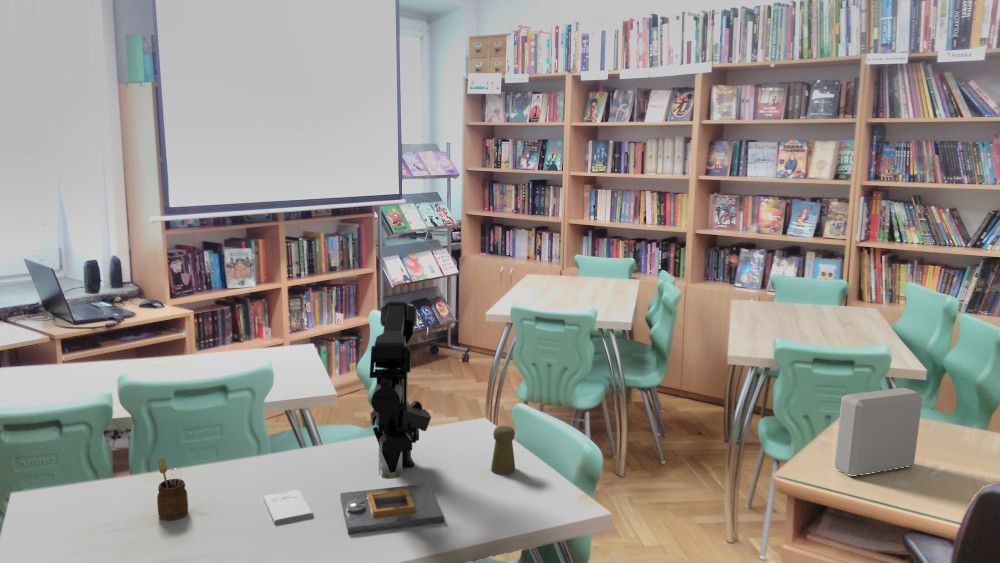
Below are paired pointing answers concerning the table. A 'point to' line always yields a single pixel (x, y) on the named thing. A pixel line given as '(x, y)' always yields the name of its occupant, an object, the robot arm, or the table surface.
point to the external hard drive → (287, 506)
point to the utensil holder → (171, 496)
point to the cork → (503, 451)
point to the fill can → (385, 471)
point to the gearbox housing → (369, 518)
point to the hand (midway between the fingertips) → (390, 467)
